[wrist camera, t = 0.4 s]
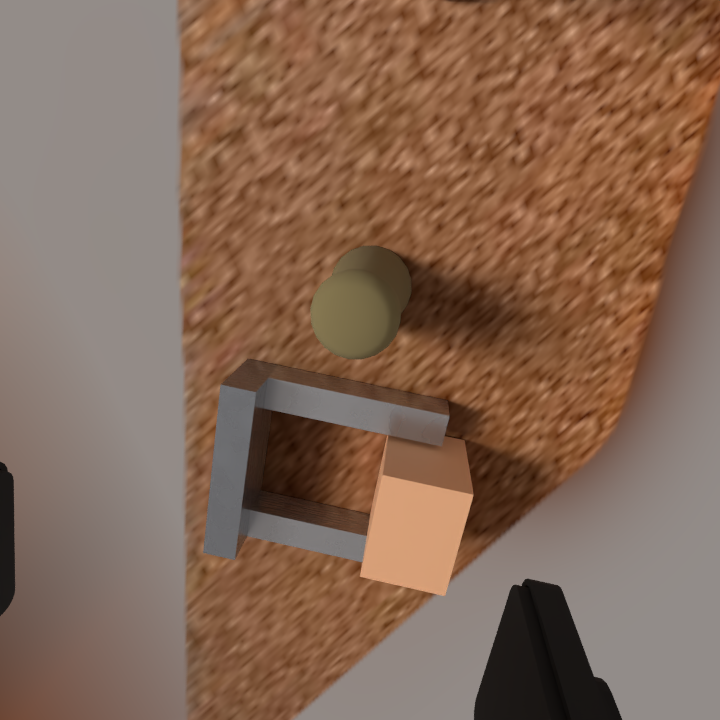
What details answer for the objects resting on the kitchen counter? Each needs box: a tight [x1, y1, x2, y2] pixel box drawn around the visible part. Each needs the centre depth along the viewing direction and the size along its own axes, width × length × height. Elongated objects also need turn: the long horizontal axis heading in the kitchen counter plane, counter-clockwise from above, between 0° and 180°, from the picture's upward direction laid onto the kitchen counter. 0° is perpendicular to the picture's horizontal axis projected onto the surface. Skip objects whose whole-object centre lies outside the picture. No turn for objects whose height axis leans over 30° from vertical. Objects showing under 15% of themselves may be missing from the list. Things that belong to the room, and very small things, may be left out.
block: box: [360, 435, 474, 596], centre depth 40 cm, size 8×6×8 cm
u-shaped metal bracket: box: [203, 359, 450, 562], centre depth 41 cm, size 14×16×6 cm
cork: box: [310, 246, 411, 359], centre depth 34 cm, size 6×6×11 cm
